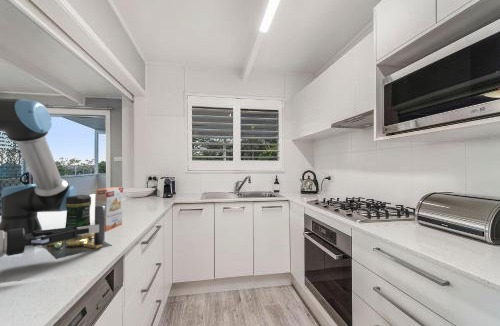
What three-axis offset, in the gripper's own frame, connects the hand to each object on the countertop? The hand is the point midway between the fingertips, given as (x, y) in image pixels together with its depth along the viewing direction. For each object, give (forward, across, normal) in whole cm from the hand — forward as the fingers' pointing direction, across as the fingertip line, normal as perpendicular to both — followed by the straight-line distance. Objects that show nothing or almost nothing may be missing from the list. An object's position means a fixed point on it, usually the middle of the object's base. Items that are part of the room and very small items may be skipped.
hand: (98, 228), depth 85 cm
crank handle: (-1, -9, -8) cm, 12 cm away
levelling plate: (-4, -12, -9) cm, 16 cm away
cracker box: (+14, -32, -9) cm, 36 cm away
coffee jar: (+1, -32, -9) cm, 33 cm away
